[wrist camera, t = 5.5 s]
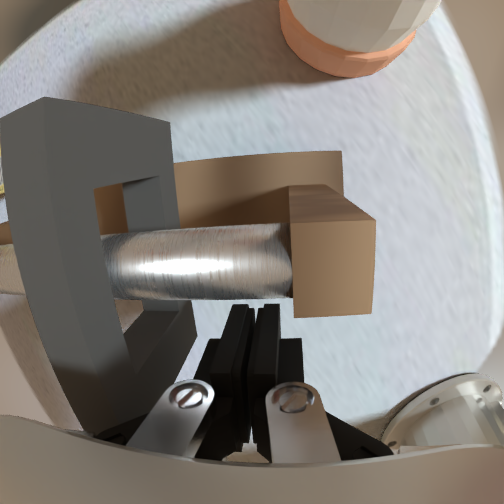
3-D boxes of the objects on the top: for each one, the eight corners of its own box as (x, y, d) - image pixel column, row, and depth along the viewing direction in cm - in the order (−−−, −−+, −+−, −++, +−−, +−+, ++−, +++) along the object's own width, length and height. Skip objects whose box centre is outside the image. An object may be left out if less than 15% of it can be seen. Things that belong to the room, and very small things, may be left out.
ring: (169, 122, 11) (44, 96, 4) (197, 335, 14) (137, 459, 7) (135, 129, 11) (-1, 118, 5) (166, 334, 14) (94, 447, 7)
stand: (339, 151, 17) (413, 142, 6) (342, 253, 18) (398, 365, 8) (16, 194, 20) (-92, 227, 9) (30, 265, 21) (-67, 321, 11)
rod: (323, 206, 9) (335, 223, 7) (324, 283, 10) (334, 320, 7) (-52, 244, 12) (-80, 256, 9) (-42, 282, 12) (-69, 297, 10)
